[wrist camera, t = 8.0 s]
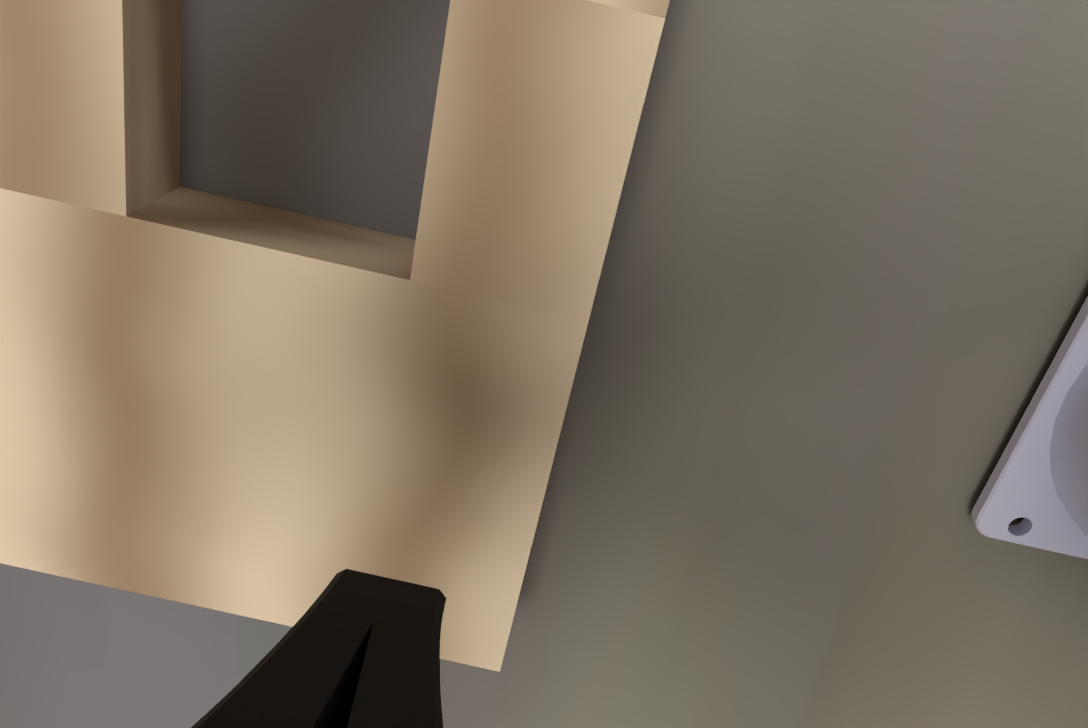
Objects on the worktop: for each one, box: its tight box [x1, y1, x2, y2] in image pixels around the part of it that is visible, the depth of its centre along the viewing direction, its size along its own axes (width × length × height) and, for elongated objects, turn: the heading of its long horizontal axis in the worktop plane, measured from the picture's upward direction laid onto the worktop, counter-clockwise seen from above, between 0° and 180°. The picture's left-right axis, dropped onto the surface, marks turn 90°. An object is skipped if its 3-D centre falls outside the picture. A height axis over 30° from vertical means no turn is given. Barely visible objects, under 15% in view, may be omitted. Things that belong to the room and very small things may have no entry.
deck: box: [0, 0, 670, 672], centre depth 17 cm, size 23×16×4 cm
